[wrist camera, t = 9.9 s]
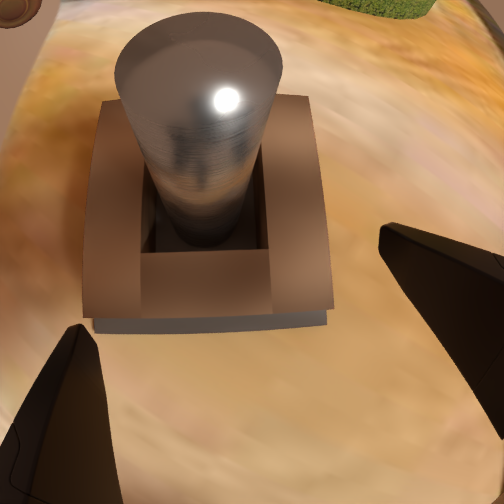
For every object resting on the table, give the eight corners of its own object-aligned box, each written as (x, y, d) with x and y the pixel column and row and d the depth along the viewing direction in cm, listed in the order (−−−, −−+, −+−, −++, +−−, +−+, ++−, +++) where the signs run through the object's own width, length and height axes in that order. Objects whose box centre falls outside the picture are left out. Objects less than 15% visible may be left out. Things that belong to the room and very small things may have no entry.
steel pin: (239, 246, 19) (291, 125, 6) (171, 249, 18) (100, 132, 6) (236, 183, 20) (274, 14, 7) (172, 185, 19) (129, 17, 6)
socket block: (324, 324, 19) (354, 327, 15) (96, 333, 17) (66, 337, 13) (303, 122, 22) (321, 85, 17) (108, 127, 20) (90, 91, 16)
